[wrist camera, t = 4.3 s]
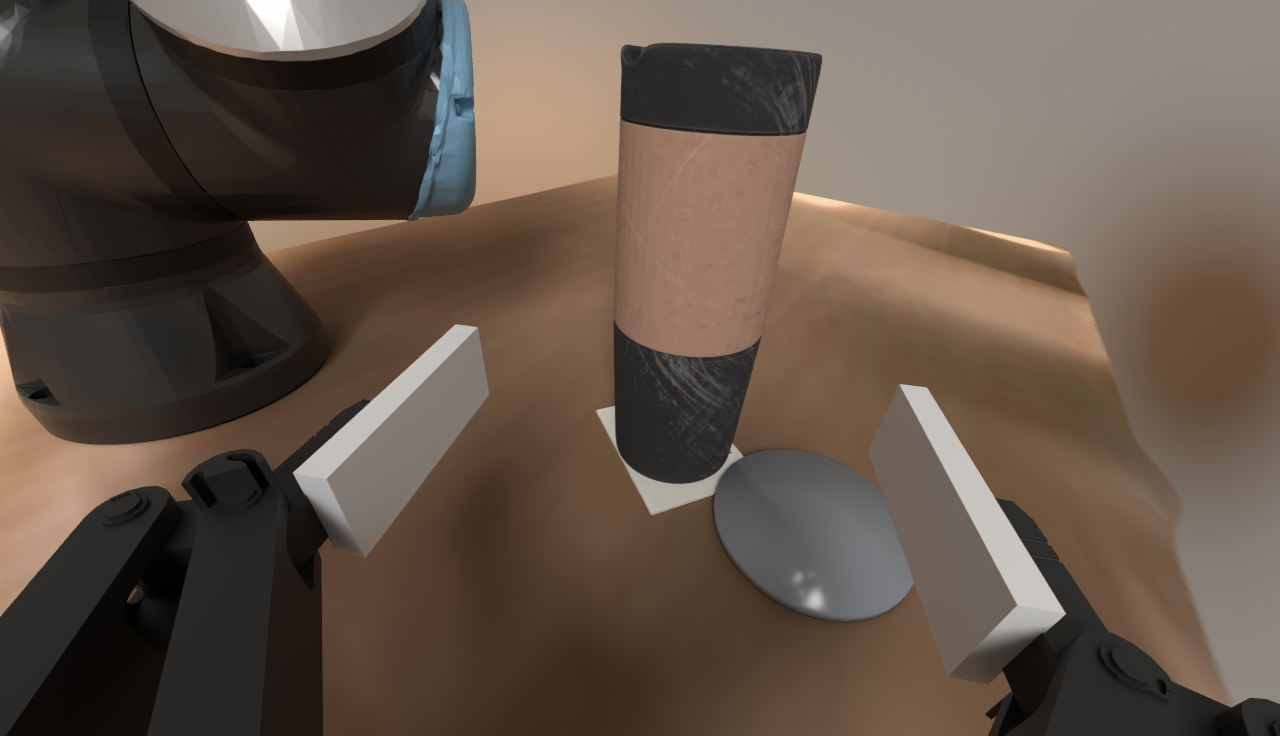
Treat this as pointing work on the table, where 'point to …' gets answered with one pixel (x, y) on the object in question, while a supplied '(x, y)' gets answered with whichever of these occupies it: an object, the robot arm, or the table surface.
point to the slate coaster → (811, 535)
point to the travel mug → (699, 240)
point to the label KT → (667, 494)
